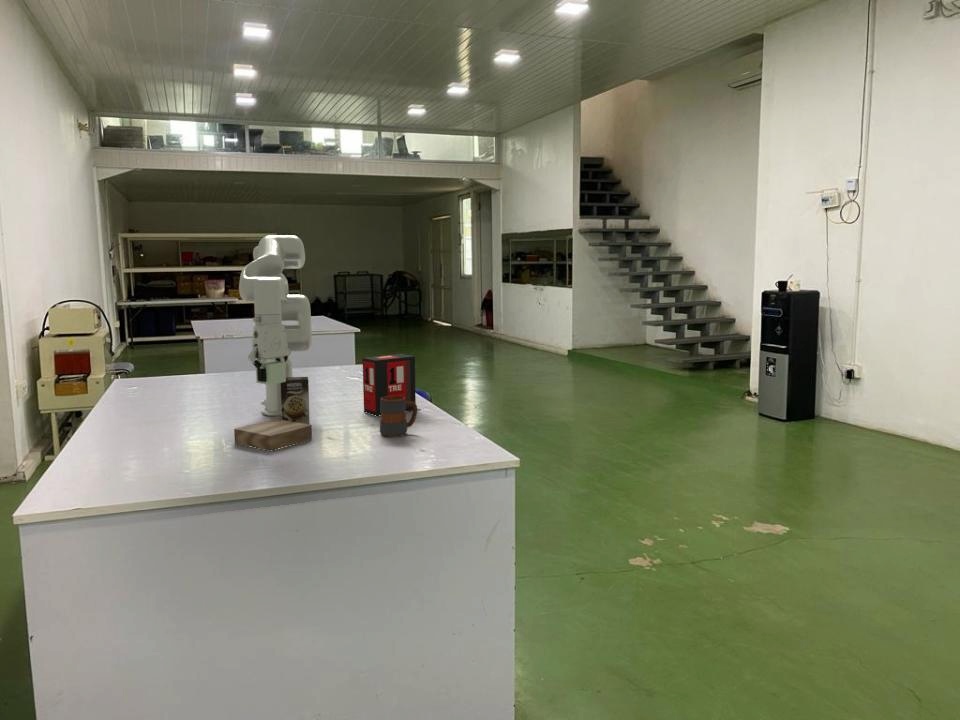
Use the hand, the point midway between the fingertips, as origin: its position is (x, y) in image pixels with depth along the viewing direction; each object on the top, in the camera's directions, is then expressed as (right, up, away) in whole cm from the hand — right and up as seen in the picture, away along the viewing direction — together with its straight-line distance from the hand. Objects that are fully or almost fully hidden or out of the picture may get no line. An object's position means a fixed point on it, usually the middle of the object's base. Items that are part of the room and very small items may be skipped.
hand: (271, 379), depth 211 cm
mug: (+37, -18, +12) cm, 43 cm away
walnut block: (0, -19, +3) cm, 20 cm away
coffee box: (+1, -16, +23) cm, 28 cm away
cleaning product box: (+30, -13, +45) cm, 56 cm away
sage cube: (0, -1, 0) cm, 1 cm away
